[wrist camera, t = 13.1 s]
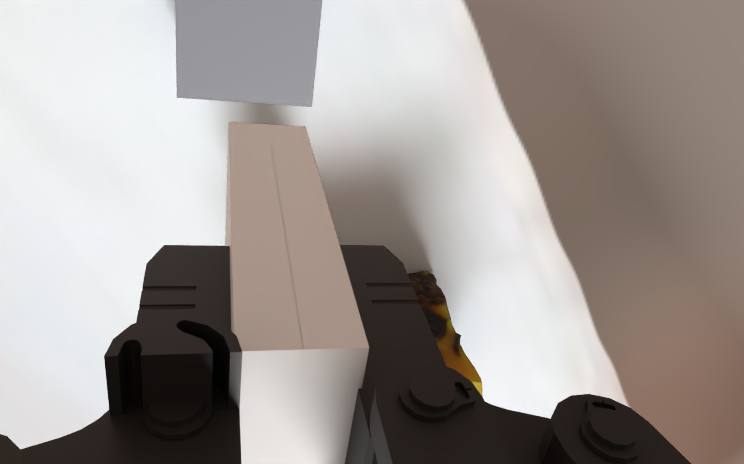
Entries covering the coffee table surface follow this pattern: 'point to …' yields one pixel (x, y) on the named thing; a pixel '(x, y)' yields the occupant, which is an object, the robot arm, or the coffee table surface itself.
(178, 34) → the grey matte cube
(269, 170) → the robot arm
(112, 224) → the coffee table surface
